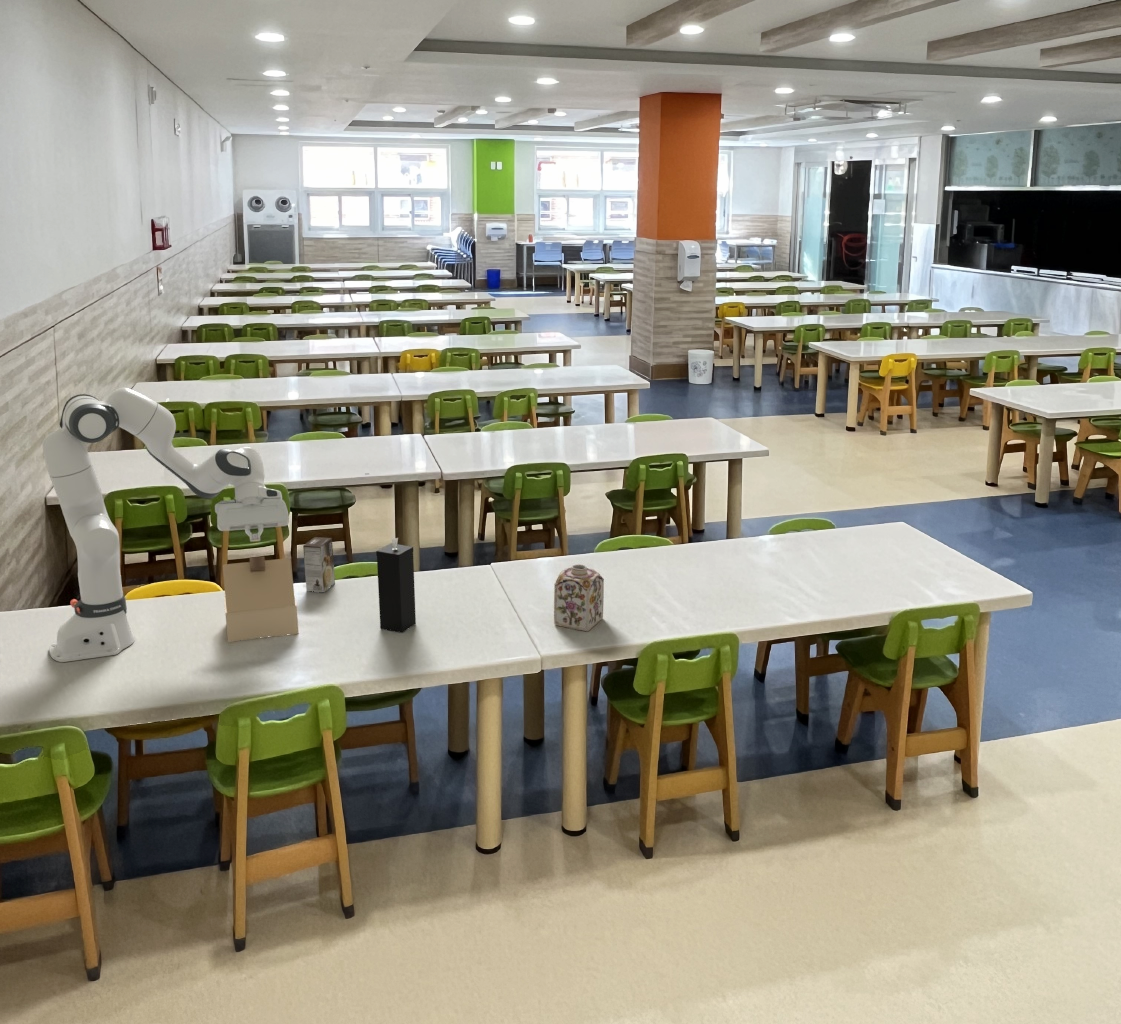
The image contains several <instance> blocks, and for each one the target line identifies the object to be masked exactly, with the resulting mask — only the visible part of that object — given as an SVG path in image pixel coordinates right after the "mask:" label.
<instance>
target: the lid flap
mask: <svg viewBox="0 0 1121 1024" xmlns="http://www.w3.org/2000/svg"><path fill="white" fill-rule="evenodd" d="M222 575H223V576H222V577H223V585H224V596H225V599H226V610H227V613H232V612H241V611H250V610H259V609H269V608H278V607H287V606H295V601H296V597H294V596H295V589H294V580H293V579H294V578H293V569H292V559H291V557H288V558H278V559H269V560H268V559H267V560H266V559H265V555H264V556H263V555H262V556H255V557H253V556H252V557H249V561H248V562H236V563H228V564H227V563H226V564H225V563H224V564H222ZM225 599H224V600H225Z"/></svg>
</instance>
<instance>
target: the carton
mask: <svg viewBox="0 0 1121 1024" xmlns="http://www.w3.org/2000/svg"><path fill="white" fill-rule="evenodd" d="M295 596H296V595H294V597H295ZM223 597H224V598H223V600H224V613H225V614H224V615H225V621H226V622H225V624H226V633H227V642H228V643H231V642H240V640H241V641H248V640H247V639H249V640H253V639H252V638H258V639H261V638H260V637H267V638H269V637H268V636H275V637H281V636H280V635H284V636H288V635H287V634H292V635H299V621H298V620H299V619H298V605H297V602H296V600H295V606H287V607H278V608H269V609H259V610H250V611H241V612H232V613H227V610H226V599H225V595H224V596H223ZM295 598H296V597H295Z"/></svg>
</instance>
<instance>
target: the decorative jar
mask: <svg viewBox="0 0 1121 1024" xmlns="http://www.w3.org/2000/svg"><path fill="white" fill-rule="evenodd" d="M557 576H558V577H557V578H556V580H555V583H554V588H553V589H554V592H553V594H554V597H553V599H554V600H553V605H554V606H553V620H554V621H553V624H554V626H557V627H563V628H568V629H573V630H577V631H581V632H582V631H584V632H589V631H590V630H592V629H593V627H595V626H596V625H597V624H598V623H599V622H600V621H602V620H603V618H604V598H605V597H604V595H605V594H604V591H605V590H604V589H605V588H604V584H605V582H604V580H605V579H604V577H603V576H602V575H601V574H600V573H599V572H597V571H596V570H595V569H593V568H589V567H588V566H587V565H584V564H579V563H578V564H574V565H571V567H567V568H565V569H563V570H562V571H561V572H560V573H559V574H558V575H557Z"/></svg>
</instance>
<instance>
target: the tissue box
mask: <svg viewBox="0 0 1121 1024" xmlns="http://www.w3.org/2000/svg"><path fill="white" fill-rule="evenodd" d="M398 540H399V537H396V538H391V543H389V544H387V545H385V546H383V547H381V548H379V549H377V550H375V553H376V566H377V582H378V583H377V584H378V585H377V587H378V606H379V607H378V608H379V628H380V629H382V630H383V629H384V630H386V631H390V632H394V631H395V633H401V634H403V633H404V632H405V631H407V630H408V628H409V629H410V628H411V627H413V626H414V625H416V624H417V621H416V619H417V618H416V593H415V591H416V590H415V569H414V567H415V566H414V546H410V545H404V544H399V543H398Z"/></svg>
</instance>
